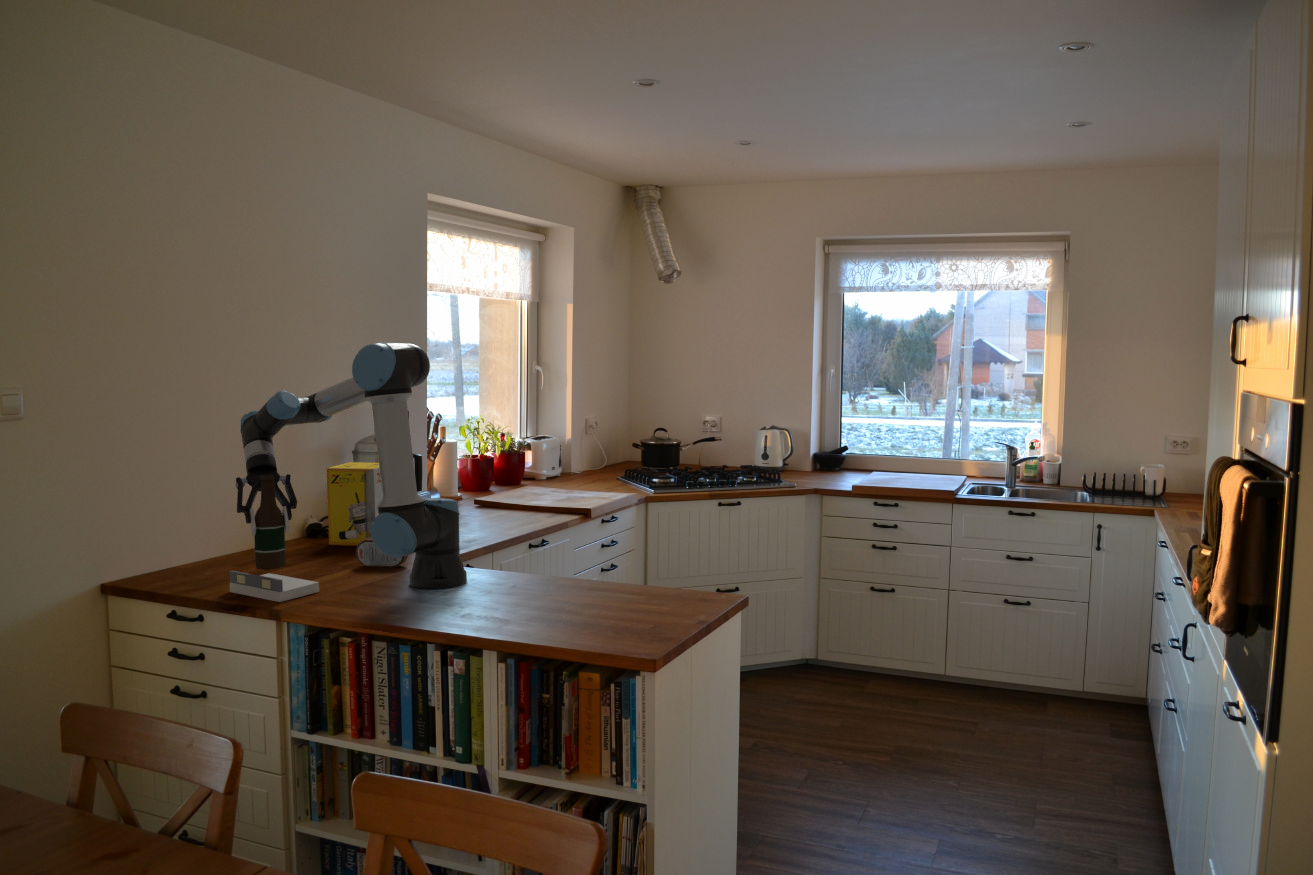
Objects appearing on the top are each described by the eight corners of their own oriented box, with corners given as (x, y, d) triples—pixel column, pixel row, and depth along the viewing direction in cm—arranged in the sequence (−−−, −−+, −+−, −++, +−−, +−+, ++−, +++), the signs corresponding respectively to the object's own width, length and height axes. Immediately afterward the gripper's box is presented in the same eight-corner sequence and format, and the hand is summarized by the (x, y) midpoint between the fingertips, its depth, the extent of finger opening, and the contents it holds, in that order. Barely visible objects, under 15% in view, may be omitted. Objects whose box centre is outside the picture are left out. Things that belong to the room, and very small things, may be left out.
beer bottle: (249, 570, 247) (246, 477, 245) (260, 563, 255) (257, 473, 252) (280, 569, 247) (277, 477, 245) (290, 563, 255) (287, 473, 253)
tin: (408, 566, 281) (408, 537, 281) (405, 568, 278) (404, 539, 277) (359, 565, 283) (358, 536, 282) (354, 567, 280) (353, 538, 279)
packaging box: (376, 546, 309) (374, 468, 307) (329, 544, 312) (326, 468, 309) (397, 536, 325) (395, 462, 323) (352, 535, 328) (350, 462, 325)
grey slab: (319, 591, 252) (318, 570, 251) (279, 602, 241) (278, 580, 241) (269, 582, 262) (268, 562, 261) (229, 591, 252) (228, 571, 251)
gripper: (298, 467, 267) (310, 535, 254) (219, 472, 257) (227, 543, 245) (301, 450, 262) (313, 518, 249) (220, 454, 252) (228, 525, 239)
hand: (270, 530), depth 247 cm, fingers closed on beer bottle, 7 cm apart
